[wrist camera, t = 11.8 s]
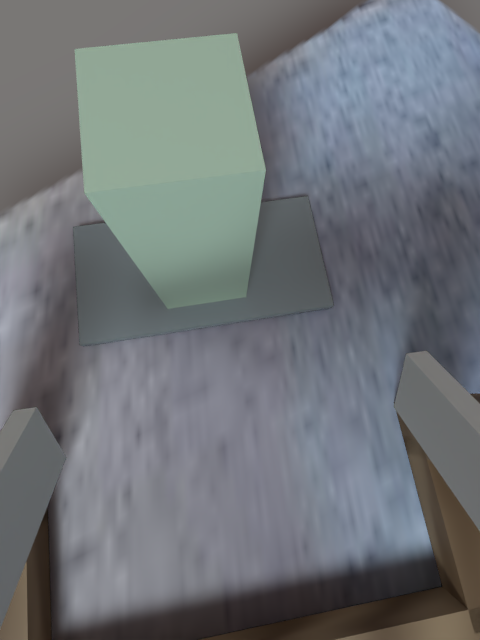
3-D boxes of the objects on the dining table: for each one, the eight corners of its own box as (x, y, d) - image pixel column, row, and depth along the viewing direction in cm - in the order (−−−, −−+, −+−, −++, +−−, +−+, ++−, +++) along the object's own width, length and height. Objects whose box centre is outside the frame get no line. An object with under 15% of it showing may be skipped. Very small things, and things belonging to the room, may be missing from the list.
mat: (305, 200, 23) (307, 196, 23) (331, 308, 21) (333, 305, 21) (77, 231, 22) (72, 226, 22) (83, 346, 20) (79, 345, 20)
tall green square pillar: (233, 226, 22) (236, 33, 10) (245, 296, 21) (266, 169, 9) (159, 237, 22) (74, 49, 10) (167, 309, 20) (84, 193, 9)
